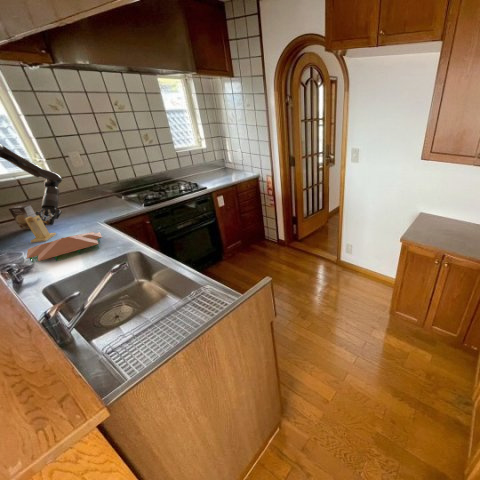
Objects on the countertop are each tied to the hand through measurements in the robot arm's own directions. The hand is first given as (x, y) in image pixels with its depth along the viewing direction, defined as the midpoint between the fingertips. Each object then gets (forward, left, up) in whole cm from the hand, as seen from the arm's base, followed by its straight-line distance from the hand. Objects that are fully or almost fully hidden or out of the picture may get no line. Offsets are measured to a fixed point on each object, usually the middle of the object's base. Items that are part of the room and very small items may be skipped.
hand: (47, 225), depth 171 cm
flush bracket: (-3, -7, -6) cm, 10 cm away
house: (+14, -38, -6) cm, 41 cm away
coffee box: (-14, +21, -6) cm, 26 cm away
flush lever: (-1, -3, +2) cm, 4 cm away
